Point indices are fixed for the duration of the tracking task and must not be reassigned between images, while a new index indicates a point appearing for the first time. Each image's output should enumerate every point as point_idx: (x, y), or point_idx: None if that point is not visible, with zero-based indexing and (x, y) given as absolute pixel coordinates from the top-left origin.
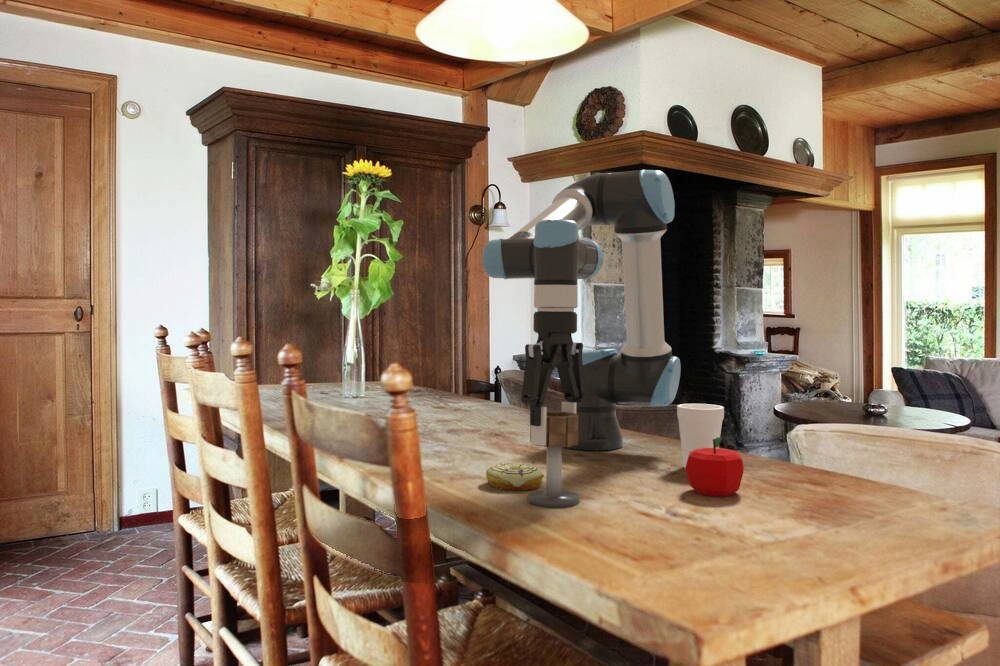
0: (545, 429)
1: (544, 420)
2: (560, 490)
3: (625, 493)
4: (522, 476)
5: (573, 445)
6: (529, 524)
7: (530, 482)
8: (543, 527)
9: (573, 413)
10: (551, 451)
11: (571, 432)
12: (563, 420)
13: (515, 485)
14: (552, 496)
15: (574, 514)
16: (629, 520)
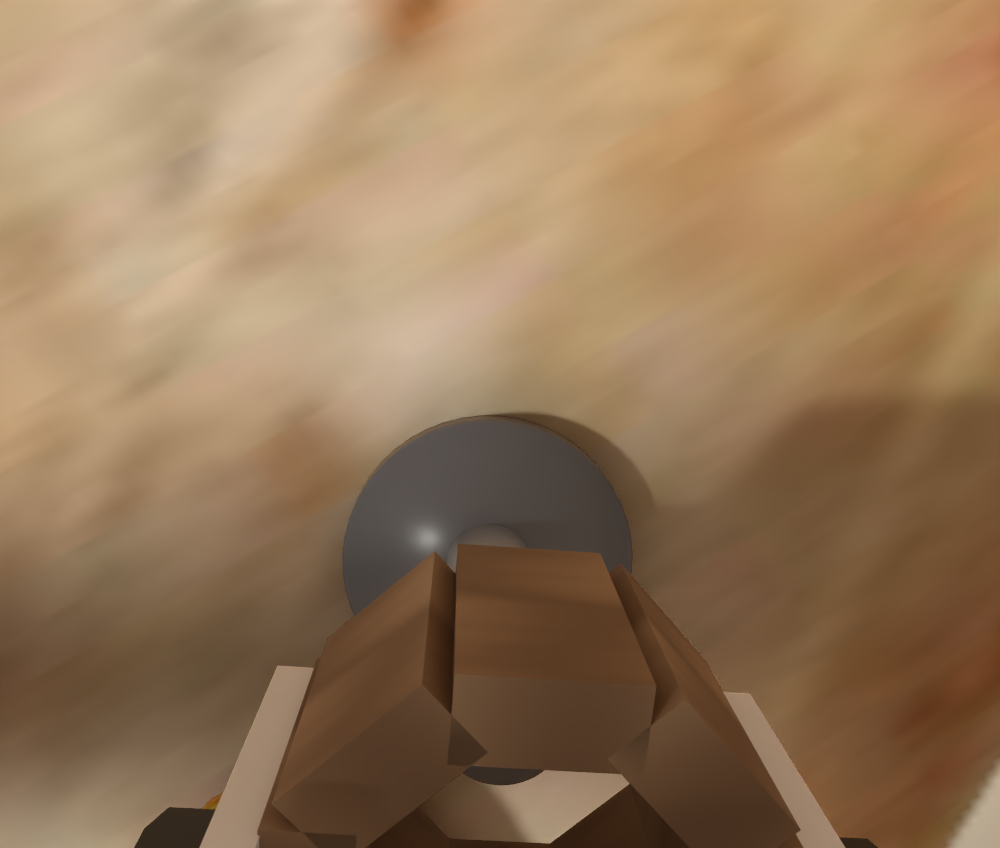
0: (772, 776)
1: (828, 840)
2: (486, 535)
3: (57, 322)
4: None
5: (519, 549)
6: (949, 404)
7: None
8: (962, 321)
9: (300, 817)
10: None
11: (567, 600)
12: (693, 702)
13: None
14: None
15: (662, 323)
16: (600, 10)
